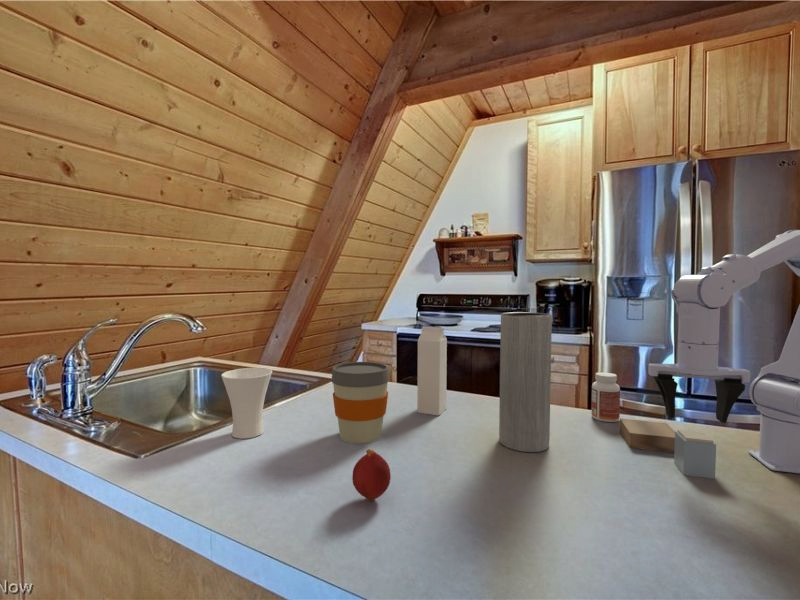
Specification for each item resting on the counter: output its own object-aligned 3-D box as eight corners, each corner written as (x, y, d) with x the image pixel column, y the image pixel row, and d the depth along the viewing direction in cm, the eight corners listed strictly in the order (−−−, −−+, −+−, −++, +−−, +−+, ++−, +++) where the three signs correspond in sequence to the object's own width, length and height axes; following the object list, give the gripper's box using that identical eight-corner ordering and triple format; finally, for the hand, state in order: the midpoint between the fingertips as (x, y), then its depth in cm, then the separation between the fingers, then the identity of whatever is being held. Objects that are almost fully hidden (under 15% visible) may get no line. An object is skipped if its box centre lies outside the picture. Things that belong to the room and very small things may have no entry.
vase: (531, 457, 75) (534, 316, 73) (489, 441, 82) (491, 313, 81) (558, 444, 81) (561, 314, 80) (516, 430, 89) (518, 311, 88)
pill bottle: (624, 419, 96) (625, 375, 95) (611, 424, 92) (612, 378, 92) (599, 412, 101) (600, 370, 100) (586, 417, 97) (587, 373, 97)
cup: (274, 438, 83) (273, 376, 83) (220, 446, 79) (219, 380, 79) (271, 422, 93) (270, 366, 93) (223, 428, 89) (222, 369, 89)
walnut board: (665, 436, 85) (666, 422, 85) (681, 453, 77) (681, 438, 77) (619, 431, 88) (619, 418, 88) (629, 447, 80) (629, 432, 79)
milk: (425, 406, 106) (425, 325, 105) (446, 409, 103) (447, 326, 103) (417, 412, 100) (417, 327, 100) (439, 416, 98) (440, 328, 97)
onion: (371, 486, 64) (371, 438, 64) (398, 498, 60) (398, 447, 60) (344, 501, 60) (344, 449, 59) (372, 515, 56) (372, 460, 56)
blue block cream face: (703, 466, 71) (704, 431, 71) (715, 478, 67) (716, 441, 67) (674, 463, 73) (675, 428, 72) (683, 474, 68) (684, 438, 68)
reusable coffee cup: (321, 443, 81) (321, 371, 80) (344, 422, 93) (344, 360, 92) (379, 449, 78) (380, 375, 77) (395, 427, 90) (395, 363, 89)
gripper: (736, 341, 70) (733, 415, 71) (644, 337, 75) (642, 407, 75) (758, 347, 64) (755, 429, 64) (655, 342, 68) (653, 419, 69)
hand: (695, 418), depth 69 cm, fingers open, 7 cm apart
